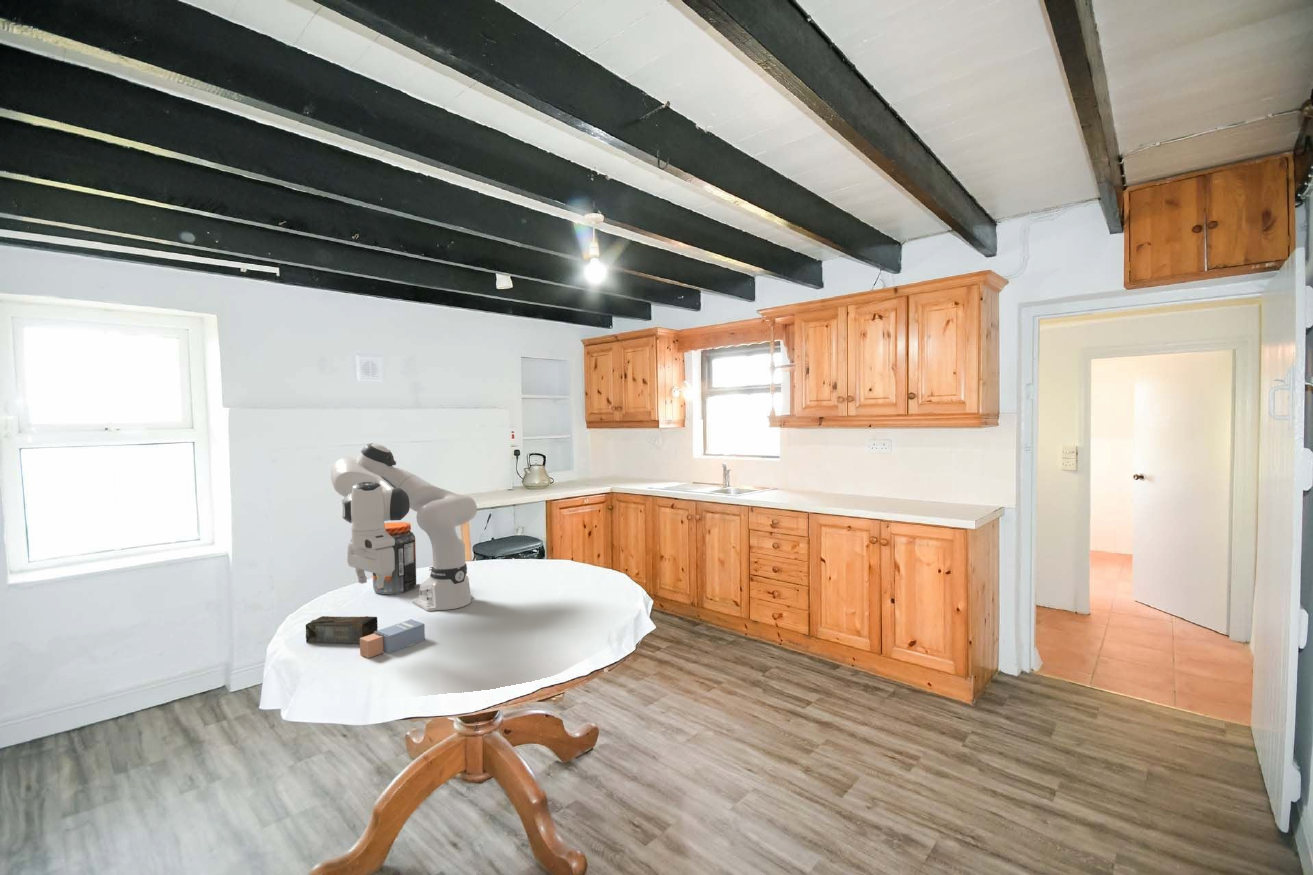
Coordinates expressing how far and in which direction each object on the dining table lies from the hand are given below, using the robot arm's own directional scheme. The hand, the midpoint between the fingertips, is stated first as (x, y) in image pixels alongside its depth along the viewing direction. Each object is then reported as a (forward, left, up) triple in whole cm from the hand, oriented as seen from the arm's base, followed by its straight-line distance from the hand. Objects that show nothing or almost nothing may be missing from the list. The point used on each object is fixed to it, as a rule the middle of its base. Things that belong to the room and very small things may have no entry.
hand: (370, 585), depth 165 cm
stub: (+2, -1, -20) cm, 20 cm away
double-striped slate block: (+2, +8, -20) cm, 21 cm away
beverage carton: (-18, 0, -20) cm, 27 cm away
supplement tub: (-51, +38, -20) cm, 66 cm away
